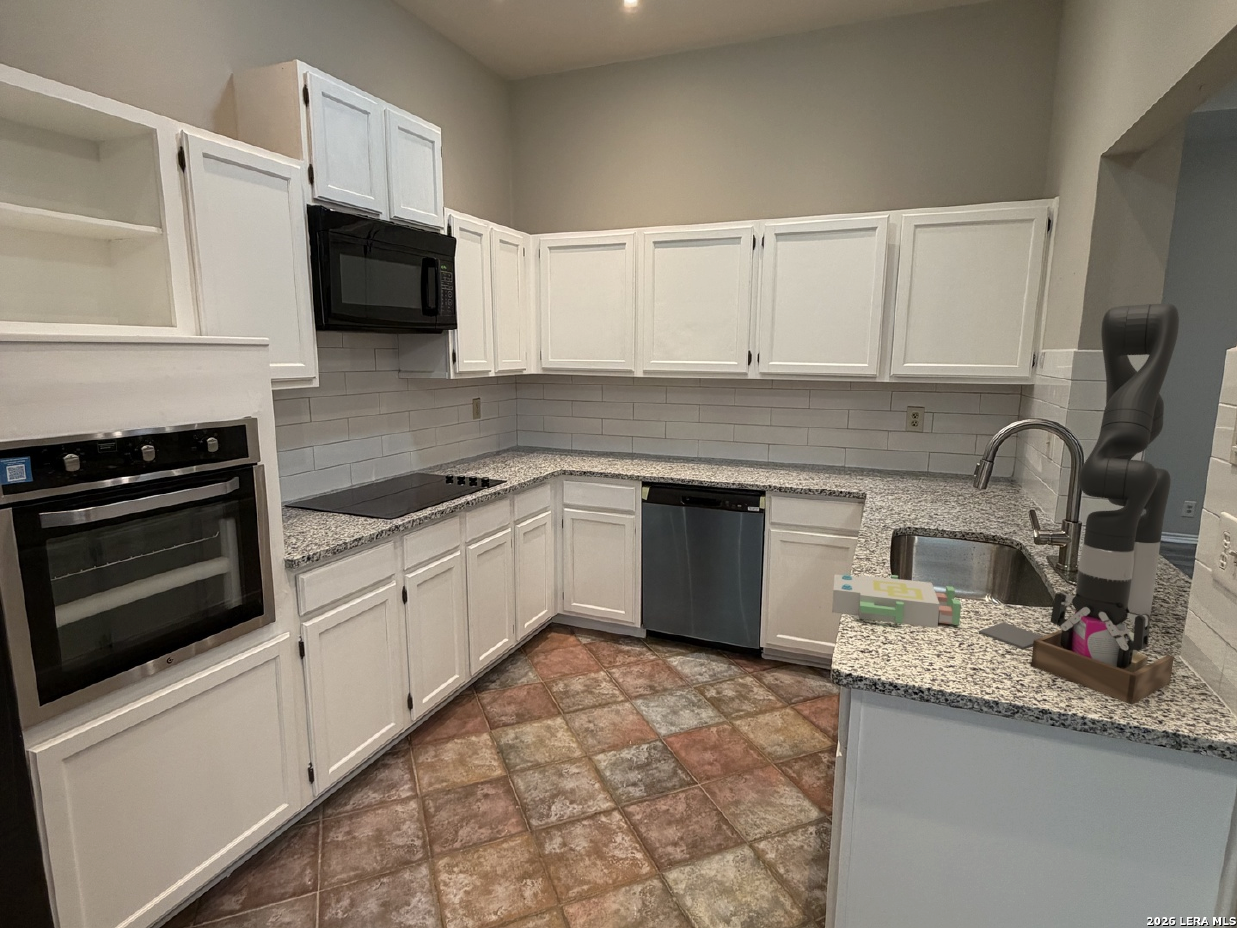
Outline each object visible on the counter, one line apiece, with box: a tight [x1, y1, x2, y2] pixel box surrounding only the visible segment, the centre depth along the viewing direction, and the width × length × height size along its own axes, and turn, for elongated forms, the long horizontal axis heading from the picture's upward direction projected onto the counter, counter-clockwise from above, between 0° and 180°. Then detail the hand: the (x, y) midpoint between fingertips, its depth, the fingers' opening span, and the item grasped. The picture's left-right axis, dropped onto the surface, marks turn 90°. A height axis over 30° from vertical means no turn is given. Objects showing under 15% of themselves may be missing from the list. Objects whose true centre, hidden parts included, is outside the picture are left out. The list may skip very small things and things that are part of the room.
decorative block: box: [831, 574, 962, 629], centre depth 147 cm, size 26×6×20 cm
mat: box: [978, 621, 1045, 650], centre depth 134 cm, size 9×9×1 cm
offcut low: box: [1124, 652, 1149, 673], centre depth 120 cm, size 5×9×4 cm, turn 31°
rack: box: [1030, 628, 1175, 705], centre depth 117 cm, size 14×16×5 cm
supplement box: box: [1071, 610, 1126, 667], centre depth 116 cm, size 6×6×12 cm
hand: (1093, 658), depth 116 cm, fingers closed on supplement box, 8 cm apart
